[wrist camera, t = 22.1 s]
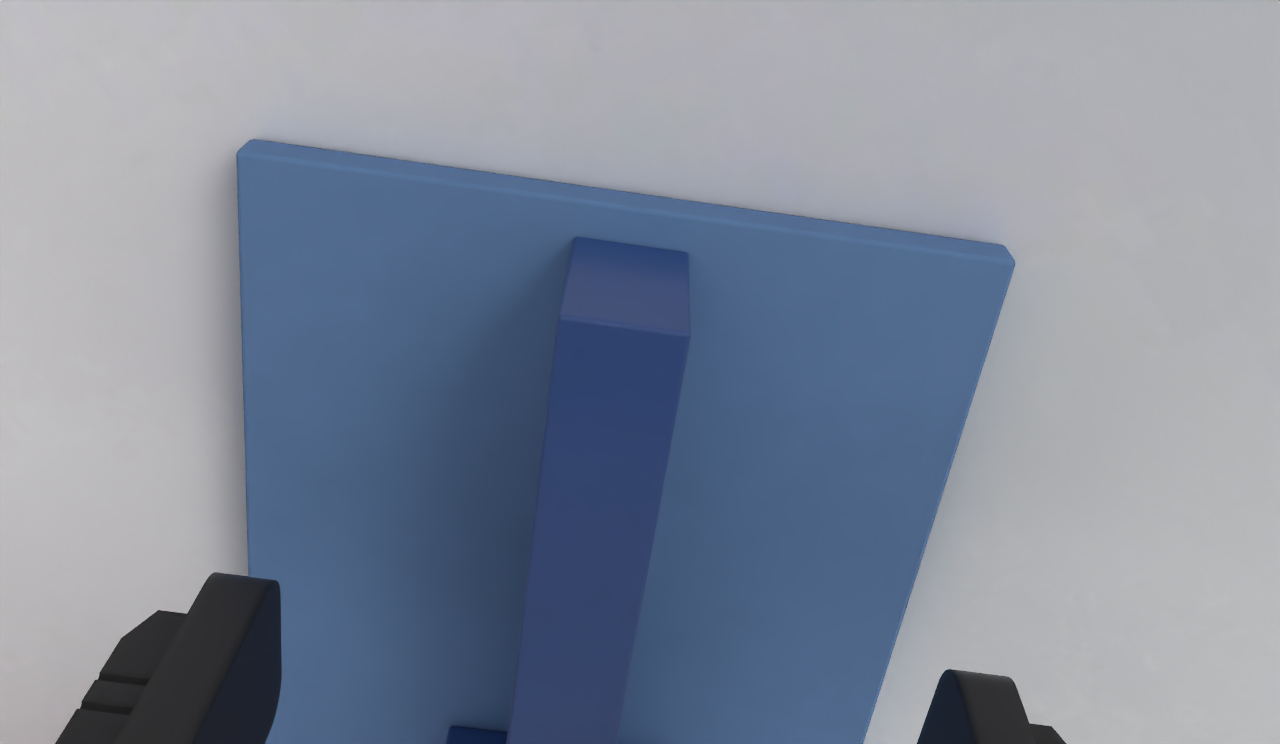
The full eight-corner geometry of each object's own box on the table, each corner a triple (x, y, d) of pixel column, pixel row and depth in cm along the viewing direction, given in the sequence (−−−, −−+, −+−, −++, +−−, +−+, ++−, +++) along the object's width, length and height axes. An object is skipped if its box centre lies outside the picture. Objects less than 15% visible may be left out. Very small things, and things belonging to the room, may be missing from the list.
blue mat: (249, 136, 15) (234, 151, 14) (1006, 243, 15) (1018, 261, 15) (266, 863, 22) (255, 891, 21) (794, 924, 22) (798, 953, 21)
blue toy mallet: (491, 223, 15) (461, 301, 13) (770, 262, 15) (785, 346, 13) (434, 899, 21) (407, 1028, 19) (630, 923, 21) (625, 1052, 19)
